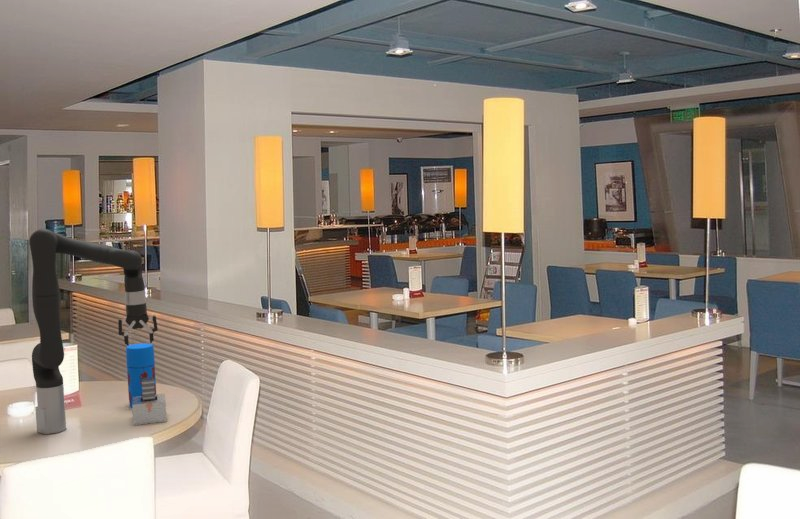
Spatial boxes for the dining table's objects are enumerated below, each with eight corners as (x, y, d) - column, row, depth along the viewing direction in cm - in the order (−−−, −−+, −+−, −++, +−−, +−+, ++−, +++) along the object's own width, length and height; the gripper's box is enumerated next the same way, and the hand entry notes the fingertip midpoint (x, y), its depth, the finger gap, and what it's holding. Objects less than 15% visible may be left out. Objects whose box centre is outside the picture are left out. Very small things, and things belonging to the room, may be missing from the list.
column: (156, 420, 303) (153, 379, 302) (143, 421, 302) (141, 380, 301) (156, 416, 308) (153, 376, 306) (144, 418, 306) (141, 377, 305)
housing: (166, 422, 300) (165, 401, 300) (133, 425, 297) (132, 405, 296) (165, 413, 312) (164, 393, 312) (134, 416, 309) (132, 396, 308)
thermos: (161, 402, 329) (157, 343, 327) (150, 409, 319) (147, 348, 316) (136, 401, 330) (132, 343, 328) (124, 409, 320) (121, 348, 317)
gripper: (154, 299, 307) (158, 339, 309) (116, 302, 302) (120, 344, 304) (155, 302, 300) (158, 343, 302) (115, 305, 295) (119, 348, 297)
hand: (139, 343), depth 303 cm, fingers open, 8 cm apart
